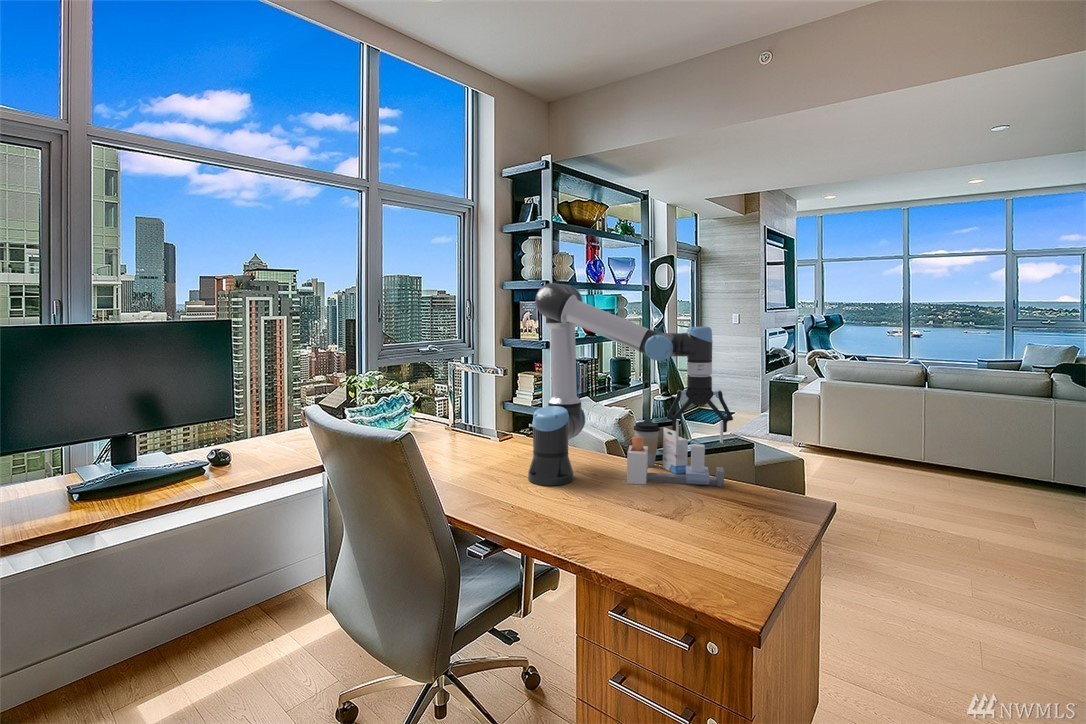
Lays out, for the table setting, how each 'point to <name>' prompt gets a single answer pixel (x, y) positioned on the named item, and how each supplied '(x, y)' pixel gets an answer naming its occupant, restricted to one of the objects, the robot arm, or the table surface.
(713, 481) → the rail
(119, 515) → the table surface
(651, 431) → the coffee cup
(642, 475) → the cabinet
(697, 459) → the carriage
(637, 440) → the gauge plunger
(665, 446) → the ink box
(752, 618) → the table surface
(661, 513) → the table surface
